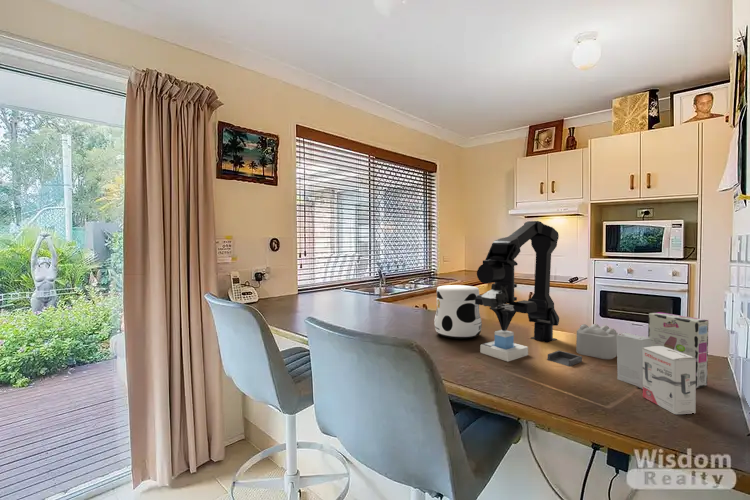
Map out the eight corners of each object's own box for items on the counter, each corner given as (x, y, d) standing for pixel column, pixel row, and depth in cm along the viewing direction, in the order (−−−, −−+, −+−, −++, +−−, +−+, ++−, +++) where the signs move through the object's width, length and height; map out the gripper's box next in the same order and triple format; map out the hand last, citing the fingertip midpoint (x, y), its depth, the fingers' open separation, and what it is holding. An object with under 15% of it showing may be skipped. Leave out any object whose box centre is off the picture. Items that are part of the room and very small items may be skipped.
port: (500, 348, 119) (500, 338, 119) (528, 356, 110) (528, 346, 110) (480, 354, 113) (480, 344, 113) (507, 363, 105) (507, 352, 105)
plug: (502, 351, 114) (502, 329, 114) (513, 354, 111) (513, 332, 111) (494, 353, 112) (494, 331, 112) (505, 357, 109) (505, 334, 109)
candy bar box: (708, 386, 88) (710, 319, 87) (696, 389, 86) (698, 321, 85) (658, 370, 98) (659, 311, 98) (646, 373, 96) (647, 312, 96)
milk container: (429, 330, 142) (428, 285, 141) (471, 328, 144) (471, 284, 143) (442, 343, 125) (441, 292, 124) (489, 341, 127) (489, 290, 126)
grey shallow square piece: (559, 356, 110) (559, 350, 110) (582, 363, 104) (582, 356, 104) (546, 361, 106) (546, 354, 106) (569, 368, 100) (569, 361, 100)
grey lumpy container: (572, 354, 112) (573, 327, 112) (584, 345, 121) (585, 320, 121) (612, 362, 105) (612, 333, 104) (621, 352, 114) (621, 325, 114)
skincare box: (652, 386, 88) (653, 337, 87) (642, 390, 86) (643, 340, 85) (625, 377, 93) (626, 331, 93) (615, 381, 91) (616, 334, 91)
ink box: (640, 397, 82) (641, 345, 82) (660, 396, 83) (661, 345, 82) (674, 415, 74) (676, 358, 73) (697, 414, 74) (698, 357, 74)
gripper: (463, 279, 114) (463, 328, 115) (514, 286, 99) (514, 342, 99) (486, 277, 120) (486, 323, 121) (538, 283, 105) (537, 335, 106)
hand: (504, 330), depth 112 cm, fingers closed
